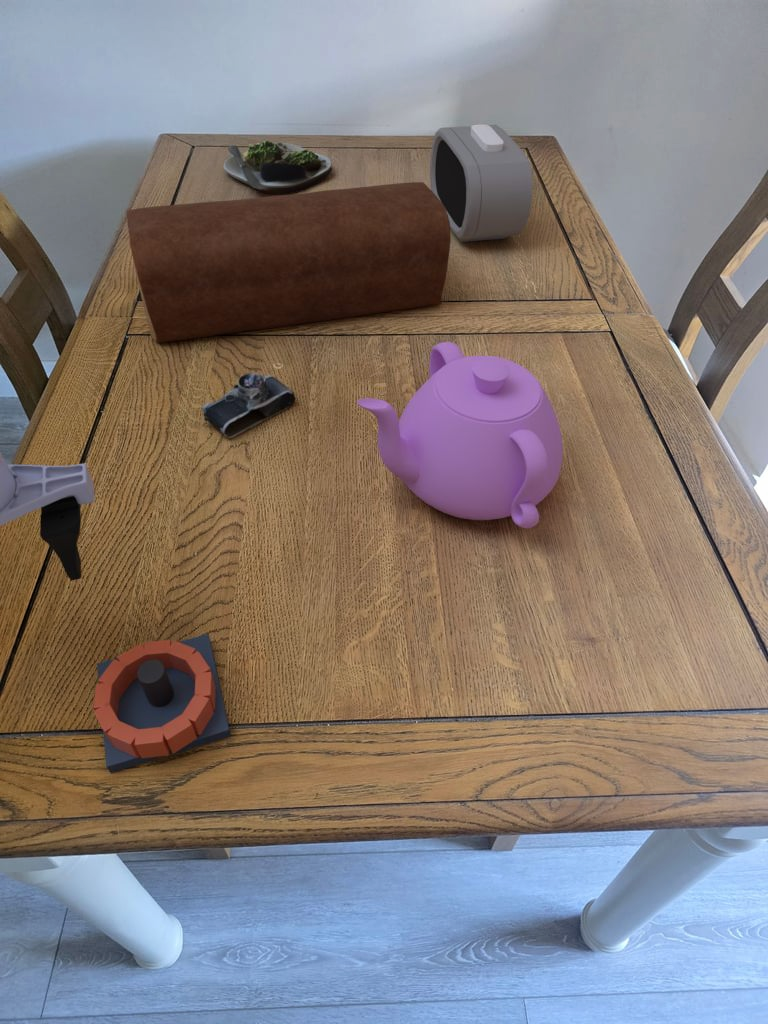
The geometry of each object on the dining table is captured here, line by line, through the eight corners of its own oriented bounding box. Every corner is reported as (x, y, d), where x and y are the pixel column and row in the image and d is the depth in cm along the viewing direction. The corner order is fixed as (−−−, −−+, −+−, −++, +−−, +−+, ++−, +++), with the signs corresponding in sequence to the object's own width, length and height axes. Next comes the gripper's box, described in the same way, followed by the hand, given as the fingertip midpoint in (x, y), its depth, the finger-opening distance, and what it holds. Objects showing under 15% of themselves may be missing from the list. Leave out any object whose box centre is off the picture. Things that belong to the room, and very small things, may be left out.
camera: (197, 420, 79) (191, 389, 76) (272, 383, 84) (269, 353, 81) (223, 443, 77) (218, 412, 74) (298, 404, 82) (296, 374, 79)
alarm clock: (426, 197, 120) (433, 110, 110) (479, 193, 121) (490, 107, 111) (463, 257, 106) (474, 164, 96) (522, 251, 108) (539, 160, 98)
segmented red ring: (95, 764, 52) (86, 750, 50) (109, 661, 57) (101, 646, 55) (214, 750, 53) (209, 736, 51) (216, 650, 58) (212, 635, 56)
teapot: (319, 441, 78) (314, 333, 67) (490, 395, 84) (509, 290, 74) (405, 592, 64) (414, 486, 54) (600, 523, 71) (642, 416, 61)
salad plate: (195, 169, 124) (190, 141, 120) (271, 142, 133) (269, 116, 130) (269, 205, 116) (266, 176, 112) (345, 174, 125) (345, 146, 121)
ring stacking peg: (110, 773, 52) (92, 744, 49) (100, 670, 58) (83, 638, 54) (231, 736, 55) (222, 706, 51) (210, 641, 60) (201, 607, 56)
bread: (446, 310, 96) (457, 213, 86) (153, 351, 88) (128, 248, 78) (410, 255, 106) (417, 162, 96) (144, 287, 97) (120, 189, 87)
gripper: (63, 383, 46) (119, 521, 56) (-184, 425, 43) (-79, 563, 53) (64, 453, 42) (125, 590, 52) (-212, 506, 39) (-91, 640, 49)
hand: (21, 581), depth 52 cm, fingers open, 7 cm apart
